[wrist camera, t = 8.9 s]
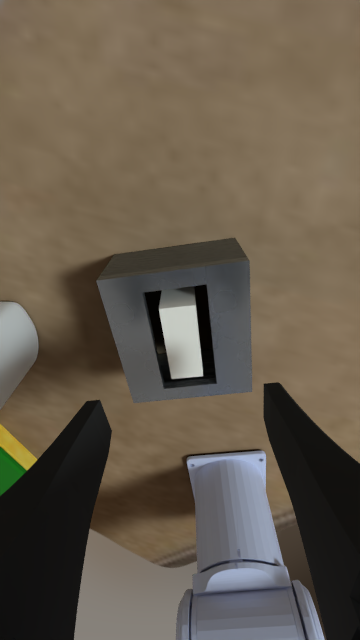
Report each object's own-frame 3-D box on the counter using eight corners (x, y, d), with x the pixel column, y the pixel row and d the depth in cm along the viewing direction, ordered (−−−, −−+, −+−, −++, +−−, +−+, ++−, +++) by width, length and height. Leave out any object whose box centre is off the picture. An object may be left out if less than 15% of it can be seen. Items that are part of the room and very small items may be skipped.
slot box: (240, 350, 23) (252, 391, 19) (142, 361, 24) (133, 403, 20) (234, 237, 18) (249, 260, 14) (114, 254, 19) (96, 280, 15)
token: (199, 333, 22) (203, 376, 18) (173, 335, 22) (171, 378, 18) (192, 272, 20) (195, 305, 15) (164, 275, 20) (158, 309, 16)
